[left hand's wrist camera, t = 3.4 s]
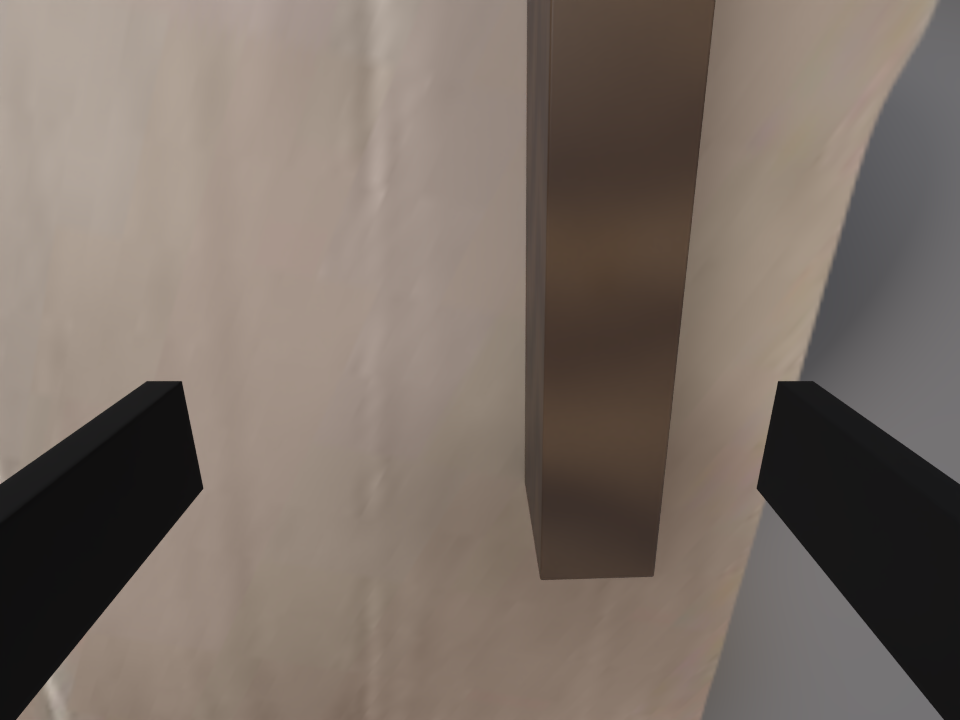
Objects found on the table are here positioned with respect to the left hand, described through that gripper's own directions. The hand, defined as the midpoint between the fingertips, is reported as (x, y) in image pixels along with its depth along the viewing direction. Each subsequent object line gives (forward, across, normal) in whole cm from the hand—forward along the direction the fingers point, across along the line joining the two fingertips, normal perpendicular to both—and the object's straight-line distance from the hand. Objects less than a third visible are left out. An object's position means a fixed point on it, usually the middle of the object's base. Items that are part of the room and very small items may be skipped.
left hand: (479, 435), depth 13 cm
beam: (+16, -4, -15) cm, 22 cm away
